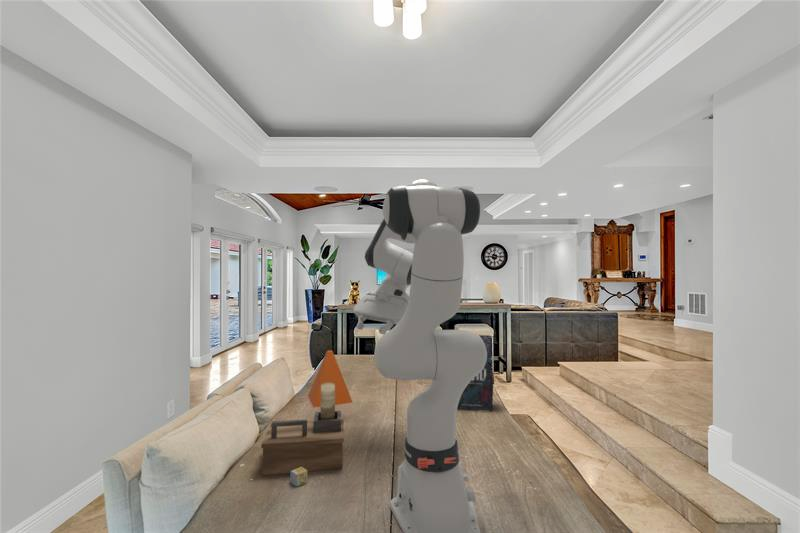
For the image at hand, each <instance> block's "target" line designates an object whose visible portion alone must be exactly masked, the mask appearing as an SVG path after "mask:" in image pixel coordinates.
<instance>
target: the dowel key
mask: <svg viewBox="0 0 800 533" xmlns="http://www.w3.org/2000/svg"><path fill="white" fill-rule="evenodd" d="M335 411H336V405H335V384H334V383H323V384H321V407H320V412H321V420H330V419H335Z"/></svg>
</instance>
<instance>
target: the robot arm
mask: <svg viewBox="0 0 800 533" xmlns="http://www.w3.org/2000/svg"><path fill="white" fill-rule="evenodd" d="M382 215H383V220H382V221H381V222H380V225H379V226H378V228H377V230H376V232H375V234H374V236H373V238H372V240H371V242H370V243H369V244H368V246H367V247H366V249H365V252H364V260H365V262H366V265H367V266H369V267H371V268H373V269H377V270H378V271H381V272H383V273H386V274H385V278H384V279H383V280H382V281H381V282H380V284H379V286H378V288H377V290H376V292H375V293H371V292H368V293H366V294H364V295H363V296H361V297H360V299H358V301H357V302H356V304H355V305H354V306H353V310H352V312H353V314H354V315H355V316H356V317H357V320H358V322H357V324H356V328H357V330H361V331H362V330H363V329H364V327H365V324H364V322H365V321H366V320H371V321H377V322H382V323H385V324H384V326H380V328H379V330H378V333H379V334H380V335H381V334H382V336H381V337H380V338H379V339H378V341H377V343H376V345H375V349H374V356H373V357H374V358H373V359H374V363H375V366H376V369H377V370H378V373H380V375H382V377H384V378H386V379H391V380H398V381H403V382H405V381H406V382H407V381H425V380H427V381H428V380H431V382H430V384H429V385H428V386H427V388H426V389H425V390H424V391H422V392H420V393H418V394H416V395H415V396H413V398H412V399H411V401H410V402H409V403H408V406H407V409H406V437H405V440H404V456H405V457H404V459H403V461H402V463H401V464H400V465H399V466H398V467H397V468H398V469H397V470H398V471H397V491H396V493H397V495H396V496H395V497H393V498H392V499H391V500H390V501H389V509H390V510H391V512H392V513H393V514H392V515H393V516H394V518H395V519H396V521H397V523H398V525H399V526H400V528H401V531H402V532H403V533H481V529H480V525H479V522H478V521H479V520H478V517H477V513H476V510H475V506H474V502H475V492H474V488H473V489H472V488H467V486H466V483H465V482H467V481H468V474H467V473H464V472H463V469H462V468H463V467H462V466H463V465H462V461H461V460H460V457H459V454H460V451H459V446H458V445H459V444H458V440H457V437H456V435H457V433H456V431H457V415H458V414H457V412H458V409H457V407H458V403H459V400H460V397H461V395H462V393H463V391H464V390H465V388H466V386H467V385H468V384H469V383H470V381H471V380H472V379H473V378H474V377H475V376H477V375H478V374H479V373H480V372H481V371H482V370H483V368H484V366H485V364H486V360H487V350H486V346H485V344H484V342H483V340H482V339H481V337H480V336H479V335H480V334H478V333H477V332H473V331H469V330H463V329H462V330H461V329H437V327H439V326H440V325H441V324H443V323H444V322H446V321H449V320H451V319H452V318H453V317H454V316H456V314H457V313H458V311H459V309H460V307H461V302H462V301H461V298H462V290H463V289H462V288H463V280H464V266H465V265H464V263H465V262H464V260H465V259H464V256H465V254H464V241H463V235H466V234H470V233H473V231H475V229H476V228H477V226H478V224H479V222H480V217H481V203H480V200H479V197H478V195H476V193H475V192H474V191H472V190H470V189H467V188H466V189H465V188H461V187H459V188H453V187H452V188H451V187H445V186H438V185H437V184H436V183H435V182H434V181H431V180H428V179H424V178H423V179H422V178H421V179H416V180H414V181H411V182H410V184H409V185H407V186H406V185H404V184H403V185H398V186H396V185H395V186H393V187H390V188H389V189H388V191H387V192H386V196H385V198H384V200H383V205H382ZM388 239H390V240H391V239H393V240H397V241H399V242H403V243H406V244H414V246H413V252H412V251H410V250H407V249H405V248H402V247H400V246H399V245H396V244H394V243H392V242H391V241H389V240H388ZM409 286H410V288H409V294H407V292H406V290H407V288H408V287H409Z"/></svg>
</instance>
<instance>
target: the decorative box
mask: <svg viewBox="0 0 800 533" xmlns="http://www.w3.org/2000/svg"><path fill="white" fill-rule="evenodd" d="M478 335H479V336H480V337H481V339H482V340H483V342H484V344H485V346H486V350H487V360H486V364H485V366H484V368H483V370H482V371H481V372H480V373H479V374H478V375H477V376H475V377H474V378H473V379H472V380H471V381H470V383H469V384H468V385H467V386H466V388H465V390H464V391H463V393H462V395H461V397H460V400H459V403H458V407H457V410H460V409H461V411H462V410H463V411H478V410H489V411H488V412H491V411H490V410H492V411H493V400H494V397H493V396H494V380H493V369H492V368H493V366H492V338H491V335H489V334H488V335H487V334H486V335H485V334H484V335H483V334H478Z"/></svg>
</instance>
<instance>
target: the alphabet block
mask: <svg viewBox="0 0 800 533" xmlns="http://www.w3.org/2000/svg"><path fill="white" fill-rule="evenodd" d="M289 474H290V484H292V485H293V486H295V487H296V488H297V487H300V486H302V485H304V484H306V483H308V471H307V470H306V469H304V468H303V467H300V468H297V469H295V470H292V471H291V473H289Z"/></svg>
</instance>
